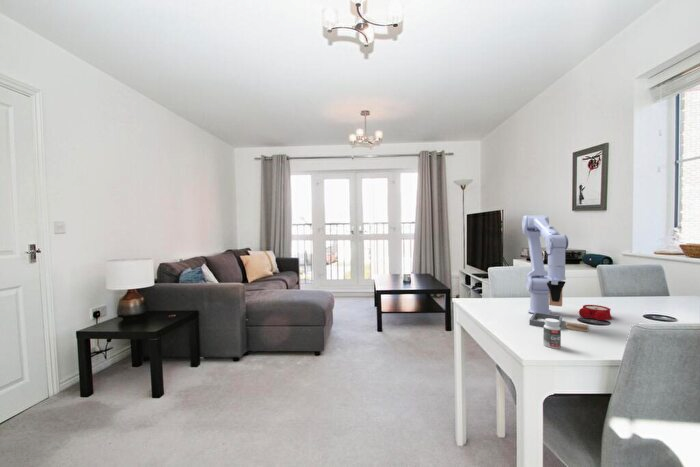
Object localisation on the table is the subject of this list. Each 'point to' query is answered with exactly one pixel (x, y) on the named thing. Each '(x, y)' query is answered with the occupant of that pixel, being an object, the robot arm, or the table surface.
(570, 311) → the table surface
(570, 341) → the table surface
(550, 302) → the block
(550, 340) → the pill bottle
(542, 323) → the gray rectangular frame
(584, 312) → the alarm clock
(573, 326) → the walnut pad
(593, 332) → the table surface
